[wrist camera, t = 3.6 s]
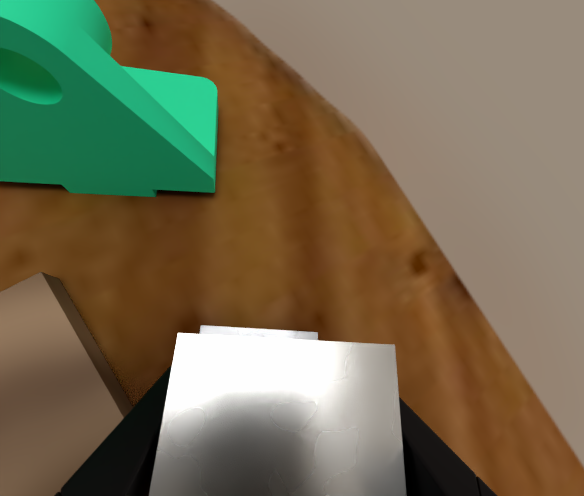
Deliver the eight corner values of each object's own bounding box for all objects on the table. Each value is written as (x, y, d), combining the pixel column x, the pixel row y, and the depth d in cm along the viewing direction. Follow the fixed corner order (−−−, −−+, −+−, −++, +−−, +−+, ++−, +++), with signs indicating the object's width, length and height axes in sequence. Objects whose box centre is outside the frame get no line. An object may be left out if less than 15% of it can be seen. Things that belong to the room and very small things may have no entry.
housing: (312, 464, 14) (442, 653, 5) (180, 467, 13) (75, 712, 4) (314, 332, 16) (409, 317, 8) (202, 325, 15) (161, 298, 7)
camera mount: (219, 110, 21) (208, -90, 11) (215, 201, 18) (197, 43, 9) (31, 89, 18) (-188, -191, 9) (-2, 190, 16) (-360, -45, 6)
